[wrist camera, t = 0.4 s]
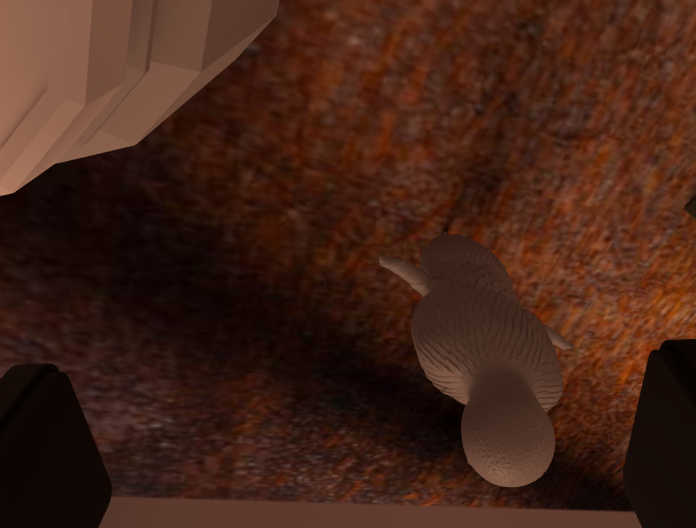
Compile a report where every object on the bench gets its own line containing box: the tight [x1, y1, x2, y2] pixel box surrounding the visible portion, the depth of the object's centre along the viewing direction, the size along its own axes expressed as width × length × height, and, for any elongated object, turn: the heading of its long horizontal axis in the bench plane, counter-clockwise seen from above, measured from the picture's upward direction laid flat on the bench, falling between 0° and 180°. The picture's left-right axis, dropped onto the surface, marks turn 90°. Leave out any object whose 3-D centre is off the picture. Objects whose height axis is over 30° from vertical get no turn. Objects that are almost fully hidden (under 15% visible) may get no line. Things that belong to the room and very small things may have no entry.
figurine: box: [379, 232, 574, 487], centre depth 23 cm, size 9×4×15 cm, turn 63°
